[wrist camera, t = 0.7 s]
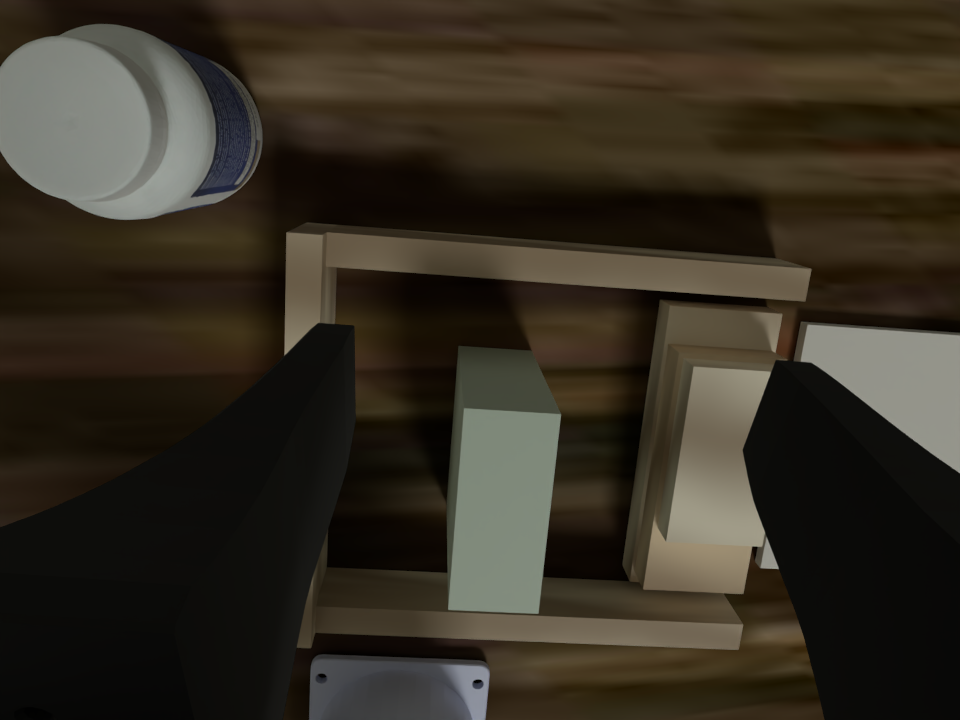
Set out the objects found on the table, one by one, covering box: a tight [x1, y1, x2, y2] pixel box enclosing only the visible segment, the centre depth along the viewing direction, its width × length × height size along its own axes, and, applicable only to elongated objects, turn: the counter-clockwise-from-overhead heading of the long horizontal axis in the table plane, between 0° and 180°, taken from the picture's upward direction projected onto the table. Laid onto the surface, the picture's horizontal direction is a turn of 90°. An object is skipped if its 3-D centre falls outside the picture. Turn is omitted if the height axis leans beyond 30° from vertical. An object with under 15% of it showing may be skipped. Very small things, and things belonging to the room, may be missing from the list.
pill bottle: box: [0, 24, 262, 220], centre depth 24 cm, size 5×5×10 cm
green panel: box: [447, 346, 561, 614], centre depth 28 cm, size 7×3×8 cm, turn 175°
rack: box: [284, 222, 811, 650], centre depth 30 cm, size 16×19×4 cm
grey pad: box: [755, 322, 960, 569], centre depth 33 cm, size 11×11×1 cm
